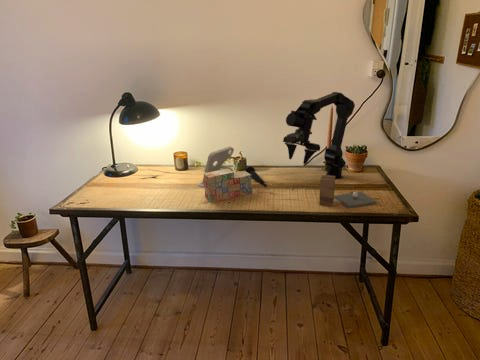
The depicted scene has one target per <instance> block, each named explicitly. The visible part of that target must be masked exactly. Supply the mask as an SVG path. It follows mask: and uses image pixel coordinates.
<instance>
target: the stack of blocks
mask: <svg viewBox="0 0 480 360" xmlns="http://www.w3.org/2000/svg"><path fill="white" fill-rule="evenodd" d="M203 177H204V187H205V188H204V198H205V199H206V200H207V201H208V202H210V203H214V202H218V201H222V200H227V199H231V198H235V197H238V196H245V195H249V194H252V191H253V190H252V184H253V183H252V177H251V174H249V173H247V172H246V171H245V170H244V171H238V172H235V171H234V170H233V171H231V170H229V169H223V170H218V171H213V172H208V173H205V172H203Z"/></svg>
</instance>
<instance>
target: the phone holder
mask: <svg viewBox="0 0 480 360" xmlns="http://www.w3.org/2000/svg"><path fill="white" fill-rule="evenodd" d="M233 153H234V147H232V146H227V147H224V148H220V149H218V150H216V151H213V152H210V153H209V155H208V156H207V161H206V165H205V169H204V173H208V172H213V171H218V170H223V169H229V170H231V171H233V172H234V170H233V168H232V167H229V166H227V165H223V164H224V163H226V161H228V159H229V158H231V156H232V155H233ZM214 163H216V164H215V165H214ZM197 186H198V187H201V188H203V189H205V187H204V176H203V178H202V181H201V182H199V183H198V184H197Z"/></svg>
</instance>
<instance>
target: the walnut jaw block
mask: <svg viewBox="0 0 480 360" xmlns="http://www.w3.org/2000/svg"><path fill="white" fill-rule="evenodd" d="M319 183H320V184H319V200H318V201H319V203H318V205H319V206H323V207H324V206H326V207H333V205H334V202H335V201H334V200H335V198H334V196H335V189H336V188H335V187H336V179H335V176H330V175H325V174H322V175H321V177H320V182H319Z"/></svg>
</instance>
